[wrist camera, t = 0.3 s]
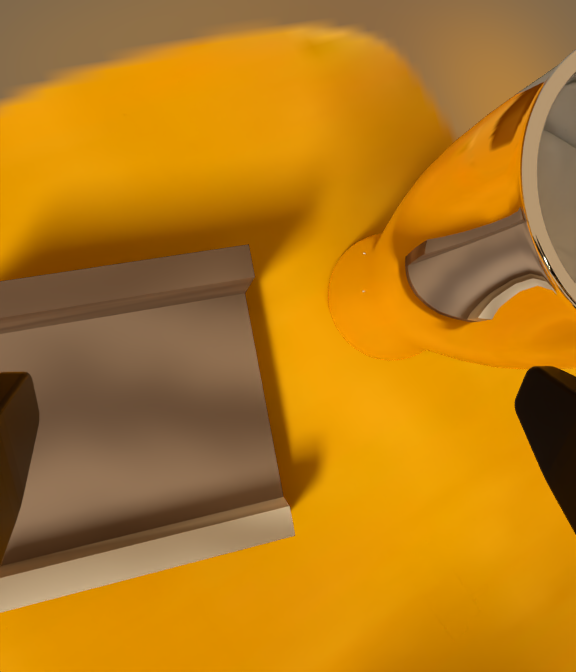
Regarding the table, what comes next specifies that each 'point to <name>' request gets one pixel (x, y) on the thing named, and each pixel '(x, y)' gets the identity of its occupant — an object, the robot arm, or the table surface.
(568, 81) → the beer glass
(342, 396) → the table surface
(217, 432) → the grey bracket
